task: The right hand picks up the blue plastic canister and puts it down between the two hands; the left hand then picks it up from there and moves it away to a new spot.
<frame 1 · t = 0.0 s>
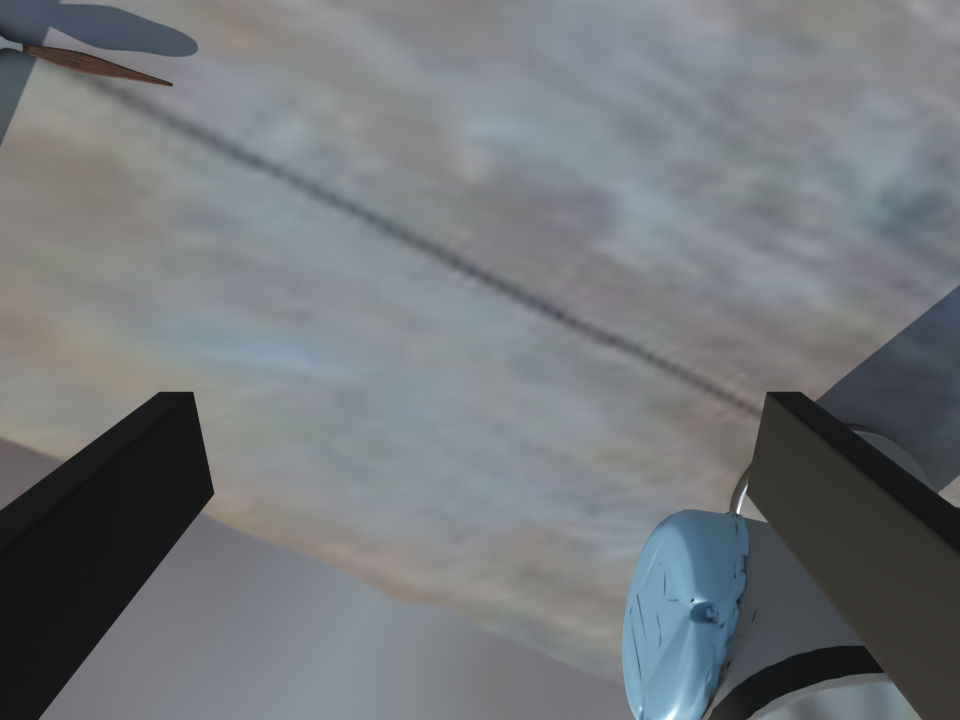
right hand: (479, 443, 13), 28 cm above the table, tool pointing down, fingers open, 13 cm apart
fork: (50, 54, 34), on the table
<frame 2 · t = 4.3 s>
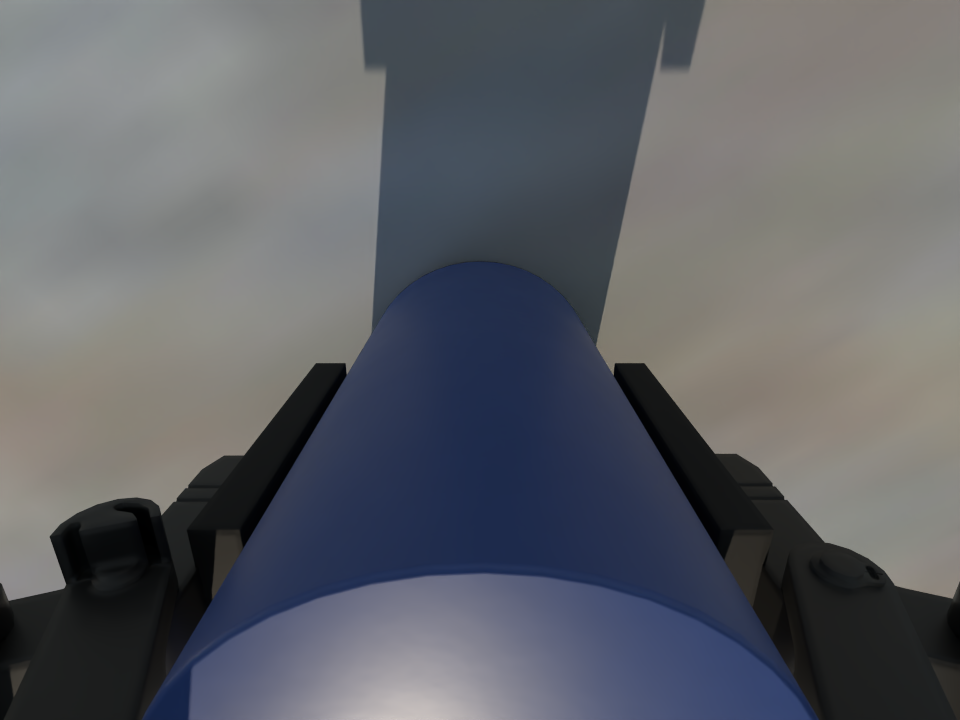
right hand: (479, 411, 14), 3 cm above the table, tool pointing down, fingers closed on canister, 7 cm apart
canister: (480, 371, 17), on the table, touching right hand
when the right hand's fingers open (4 cm above the table, at t = 17.7 s): canister drops 1 cm, on the table.
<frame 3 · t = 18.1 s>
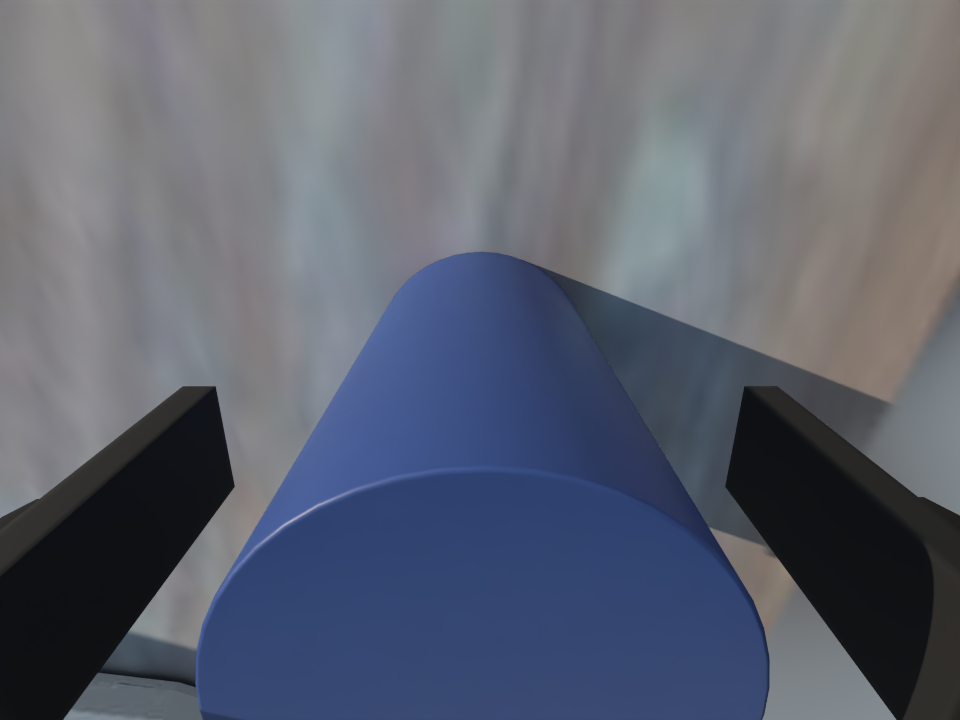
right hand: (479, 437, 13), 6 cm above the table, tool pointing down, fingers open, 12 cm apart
canister: (480, 355, 18), on the table
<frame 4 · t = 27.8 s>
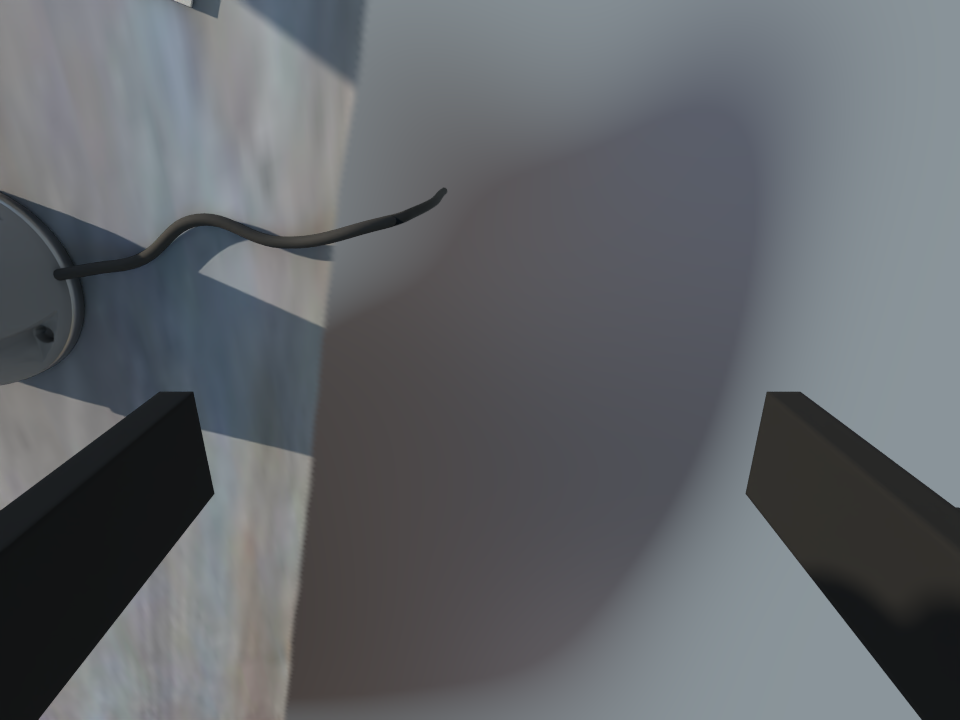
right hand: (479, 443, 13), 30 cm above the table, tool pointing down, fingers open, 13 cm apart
when the left hand's fingers open (4 cm above the table, at t = 41.5 s): canister drops 1 cm, on the table.
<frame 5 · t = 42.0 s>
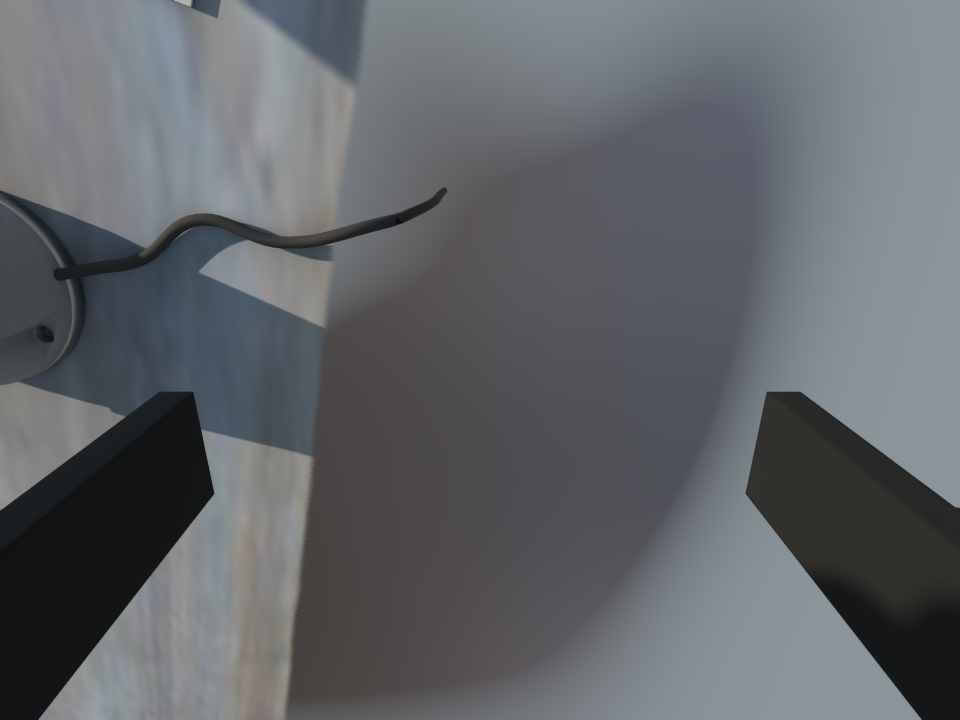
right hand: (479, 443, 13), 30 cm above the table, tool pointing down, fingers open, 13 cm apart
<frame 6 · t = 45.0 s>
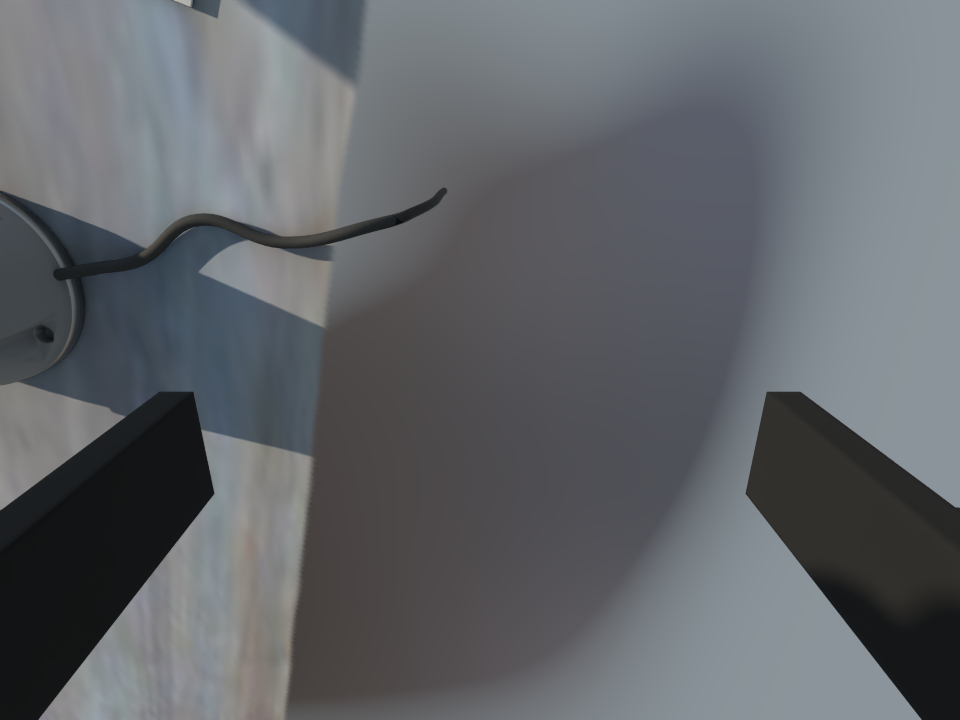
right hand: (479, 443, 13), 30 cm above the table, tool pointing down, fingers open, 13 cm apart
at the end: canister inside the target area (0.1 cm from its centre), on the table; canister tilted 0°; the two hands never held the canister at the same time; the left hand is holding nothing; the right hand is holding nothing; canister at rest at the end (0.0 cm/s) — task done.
